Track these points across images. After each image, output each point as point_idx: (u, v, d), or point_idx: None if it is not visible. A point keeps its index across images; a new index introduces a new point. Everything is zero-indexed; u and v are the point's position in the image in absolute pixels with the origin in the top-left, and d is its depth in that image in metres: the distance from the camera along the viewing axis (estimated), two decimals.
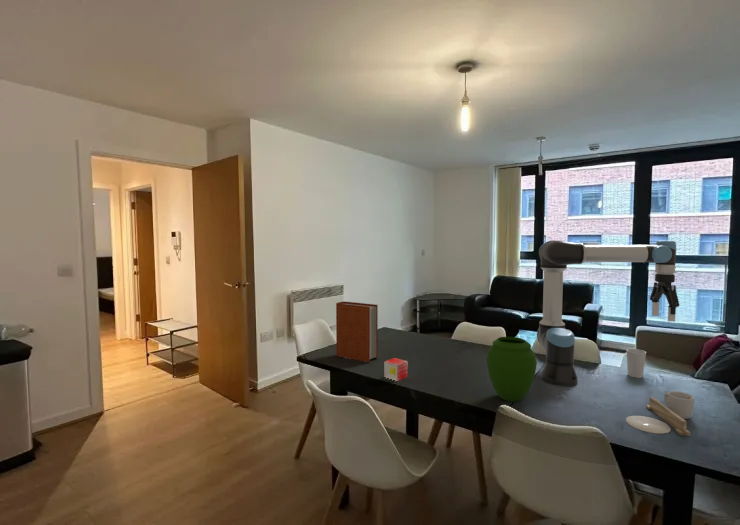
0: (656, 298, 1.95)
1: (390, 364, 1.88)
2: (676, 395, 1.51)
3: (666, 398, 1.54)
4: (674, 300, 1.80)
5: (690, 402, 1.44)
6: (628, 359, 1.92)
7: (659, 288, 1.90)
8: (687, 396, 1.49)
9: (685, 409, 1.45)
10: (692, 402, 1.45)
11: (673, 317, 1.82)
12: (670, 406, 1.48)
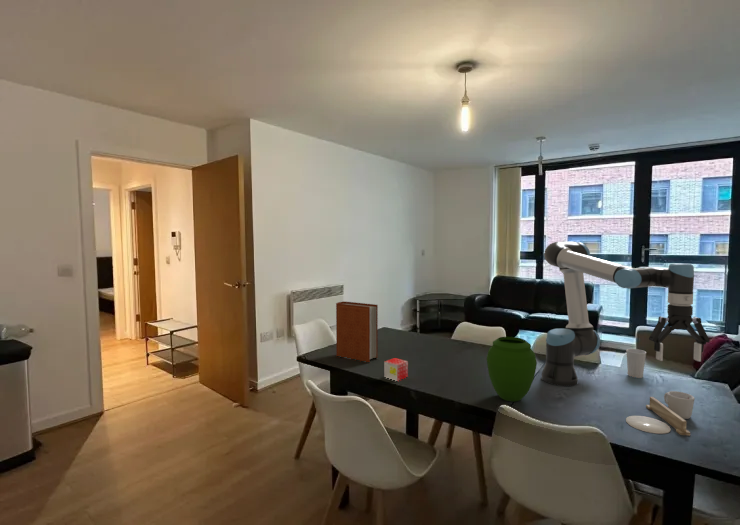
0: (694, 337, 1.52)
1: (390, 364, 1.88)
2: (676, 395, 1.51)
3: (666, 398, 1.54)
4: (653, 333, 1.53)
5: (690, 402, 1.44)
6: (628, 359, 1.92)
7: None
8: (687, 396, 1.49)
9: (685, 409, 1.45)
10: (692, 402, 1.45)
11: (659, 355, 1.52)
12: (670, 406, 1.48)
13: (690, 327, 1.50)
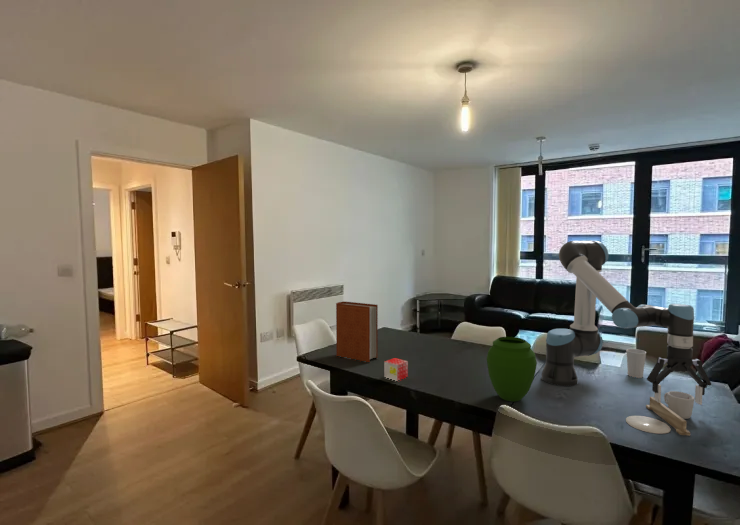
0: (695, 380, 1.49)
1: (390, 364, 1.88)
2: (676, 395, 1.51)
3: (666, 398, 1.54)
4: (650, 374, 1.51)
5: (690, 402, 1.44)
6: (628, 359, 1.92)
7: None
8: (687, 396, 1.49)
9: (685, 409, 1.45)
10: (692, 402, 1.45)
11: (657, 396, 1.50)
12: (670, 406, 1.48)
13: (690, 369, 1.47)
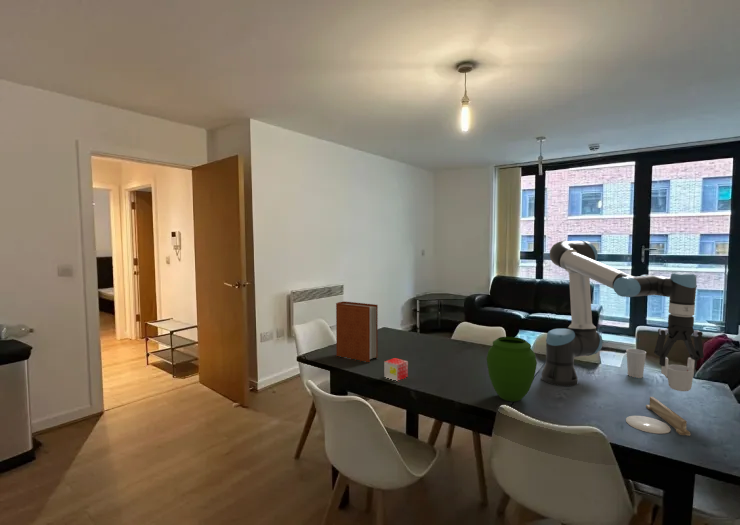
0: (689, 351, 1.49)
1: (390, 364, 1.88)
2: (675, 368, 1.51)
3: None
4: (656, 347, 1.50)
5: (689, 374, 1.44)
6: (628, 359, 1.92)
7: None
8: (686, 368, 1.49)
9: (685, 381, 1.45)
10: (691, 374, 1.45)
11: (664, 370, 1.50)
12: (670, 379, 1.48)
13: (689, 339, 1.46)
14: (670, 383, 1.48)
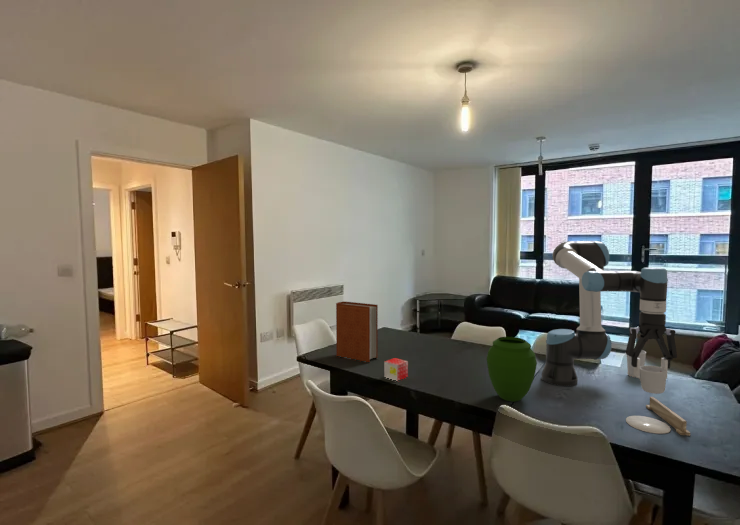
0: (662, 351, 1.40)
1: (390, 364, 1.88)
2: (648, 369, 1.42)
3: None
4: (627, 347, 1.42)
5: (662, 375, 1.35)
6: (628, 359, 1.92)
7: None
8: (659, 369, 1.40)
9: (657, 383, 1.36)
10: (664, 376, 1.35)
11: (636, 371, 1.41)
12: (642, 381, 1.39)
13: (661, 338, 1.38)
14: (643, 385, 1.39)
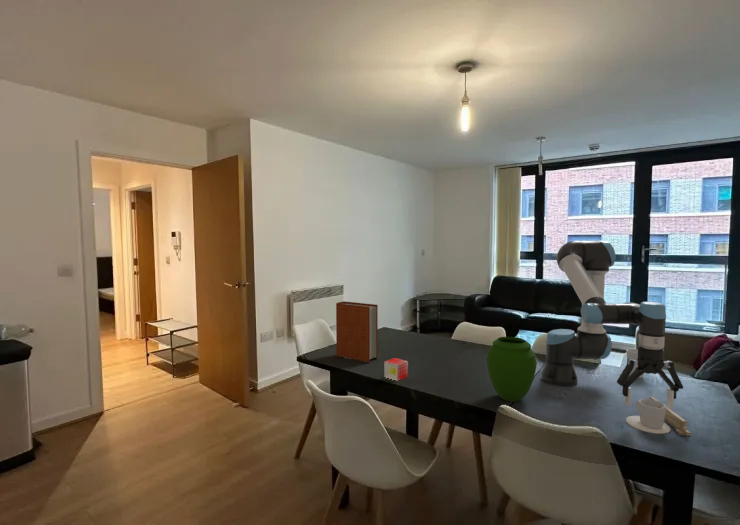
0: (666, 382, 1.40)
1: (390, 364, 1.88)
2: (648, 403, 1.43)
3: (638, 406, 1.46)
4: (620, 376, 1.43)
5: (661, 411, 1.36)
6: None
7: None
8: (659, 404, 1.41)
9: (656, 418, 1.36)
10: (663, 411, 1.36)
11: (627, 400, 1.42)
12: (641, 415, 1.40)
13: (661, 372, 1.38)
14: (641, 419, 1.40)
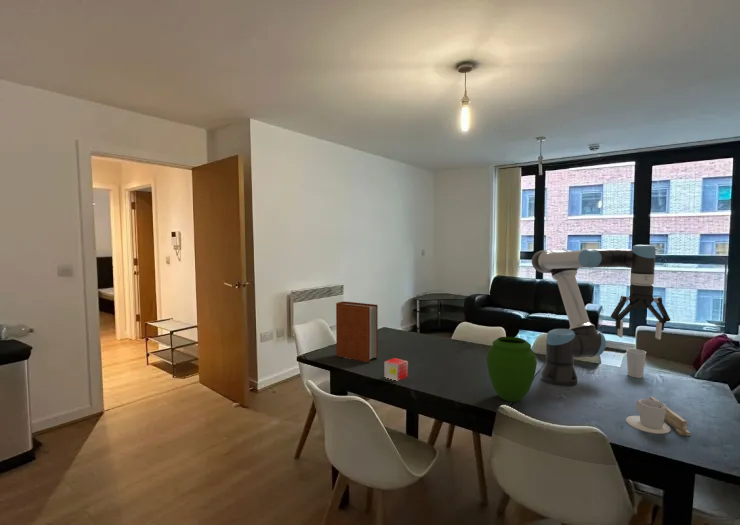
0: (655, 316, 1.57)
1: (390, 364, 1.88)
2: (648, 403, 1.43)
3: (638, 406, 1.46)
4: (614, 311, 1.60)
5: (662, 411, 1.36)
6: (628, 359, 1.92)
7: None
8: (659, 404, 1.41)
9: (656, 418, 1.36)
10: (663, 412, 1.36)
11: (619, 332, 1.60)
12: (641, 415, 1.40)
13: (650, 306, 1.56)
14: (641, 419, 1.40)
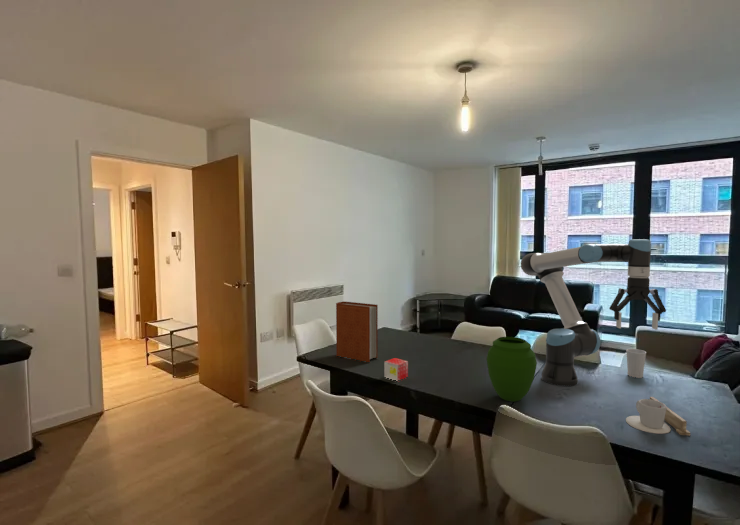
0: (652, 307, 1.64)
1: (390, 364, 1.88)
2: (648, 403, 1.43)
3: (638, 406, 1.46)
4: (612, 303, 1.67)
5: (662, 411, 1.36)
6: (628, 359, 1.92)
7: None
8: (659, 404, 1.41)
9: (656, 418, 1.36)
10: (664, 412, 1.36)
11: (618, 323, 1.66)
12: (641, 415, 1.40)
13: (647, 297, 1.62)
14: (641, 419, 1.40)
